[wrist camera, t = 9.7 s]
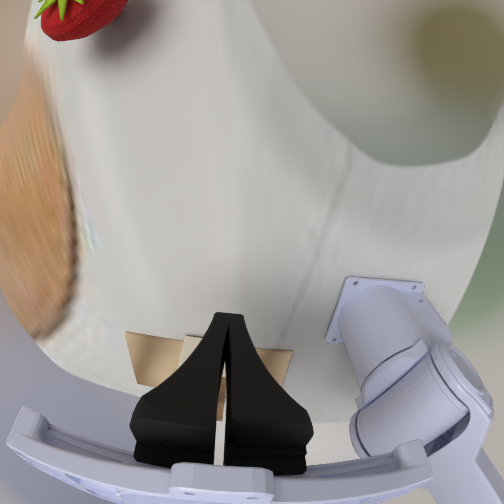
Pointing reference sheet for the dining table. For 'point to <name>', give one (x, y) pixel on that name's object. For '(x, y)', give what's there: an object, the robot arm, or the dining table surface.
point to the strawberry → (77, 17)
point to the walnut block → (189, 347)
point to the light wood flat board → (168, 353)
